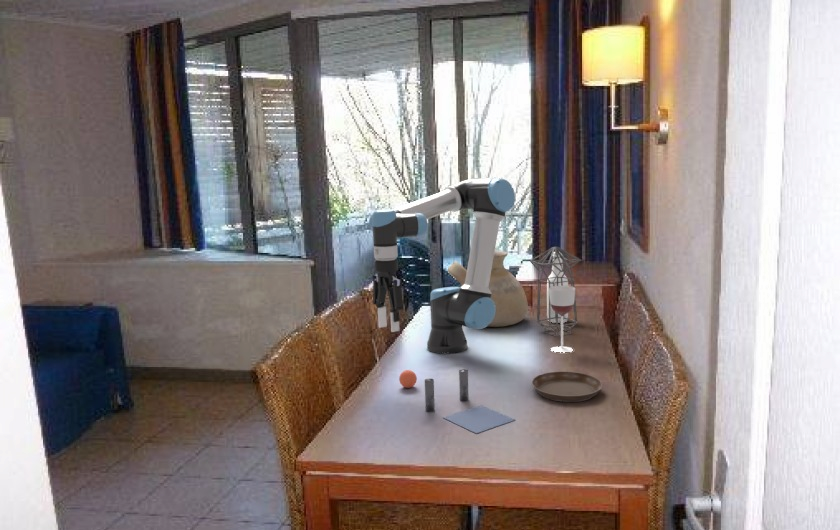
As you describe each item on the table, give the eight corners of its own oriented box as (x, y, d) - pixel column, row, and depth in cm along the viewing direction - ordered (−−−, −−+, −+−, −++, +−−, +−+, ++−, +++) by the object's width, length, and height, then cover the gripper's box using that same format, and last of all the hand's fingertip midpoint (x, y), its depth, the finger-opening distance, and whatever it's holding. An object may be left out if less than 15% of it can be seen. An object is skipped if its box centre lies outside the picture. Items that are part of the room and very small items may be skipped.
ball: (396, 387, 212) (395, 370, 211) (410, 383, 215) (409, 366, 214) (406, 391, 207) (405, 374, 206) (420, 387, 210) (419, 370, 210)
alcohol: (546, 318, 292) (546, 250, 287) (567, 318, 291) (567, 250, 286) (547, 323, 283) (547, 253, 279) (568, 323, 282) (568, 253, 277)
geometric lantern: (552, 340, 259) (549, 250, 254) (530, 332, 273) (527, 247, 268) (585, 334, 265) (584, 246, 260) (562, 326, 279) (560, 243, 274)
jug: (532, 329, 276) (532, 257, 271) (450, 331, 276) (448, 259, 271) (523, 313, 304) (522, 247, 299) (448, 315, 305) (446, 250, 300)
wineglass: (576, 346, 249) (576, 285, 245) (573, 354, 240) (573, 291, 236) (551, 345, 252) (551, 285, 248) (547, 352, 243) (547, 290, 239)
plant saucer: (598, 408, 189) (598, 397, 189) (525, 401, 197) (525, 390, 196) (604, 384, 208) (605, 374, 208) (538, 379, 216) (538, 369, 215)
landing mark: (443, 418, 185) (443, 417, 185) (481, 405, 193) (481, 405, 193) (476, 433, 174) (476, 433, 174) (515, 420, 182) (515, 419, 182)
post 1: (423, 410, 192) (422, 379, 190) (431, 407, 193) (430, 377, 192) (429, 412, 190) (428, 382, 188) (436, 410, 191) (435, 380, 190)
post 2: (458, 399, 199) (457, 370, 197) (464, 397, 200) (464, 368, 199) (463, 402, 197) (462, 372, 195) (470, 400, 198) (469, 370, 197)
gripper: (359, 256, 219) (363, 325, 222) (393, 263, 203) (396, 337, 206) (379, 254, 223) (382, 321, 226) (413, 260, 207) (416, 332, 211)
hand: (388, 328), depth 216 cm, fingers open, 7 cm apart
